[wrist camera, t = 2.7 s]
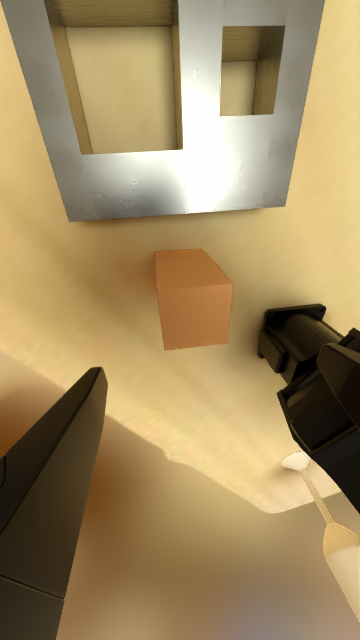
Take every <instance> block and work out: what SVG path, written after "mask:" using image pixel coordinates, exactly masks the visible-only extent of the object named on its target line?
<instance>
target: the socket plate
mask: <svg viewBox="0 0 360 640" xmlns="http://www.w3.org/2000/svg"><path fill="white" fill-rule="evenodd" d="M0 1H1V4H2V7H3V11H4V14H5V17H6V20H7V23H8V27H9V30H10V33H11V36H12V39H13V43H14V46H15V49H16V52H17V55H18V59H19V62H20V65H21V68H22V72H23V75H24V78H25V81H26V84H27V88H28V91H29V94H30V97H31V100H32V104H33V107H34V110H35V113H36V116H37V120H38V123H39V126H40V129H41V132H42V136H43V139H44V142H45V145H46V148H47V152H48V155H49V158H50V161H51V164H52V168H53V171H54V174H55V177H56V180H57V184H58V187H59V190H60V193H61V197H62V200H63V203H64V206H65V209H66V213H67V216H68V219H69V222H76V221H90V220H104V219H117V218H131V217H145V216H159V215H173V214H187V213H200V212H214V211H228V210H242V209H256V208H269V207H283V206H285V204H286V199H287V194H288V189H289V184H290V178H291V173H292V168H293V163H294V158H295V153H296V147H297V142H298V137H299V132H300V127H301V122H302V116H303V111H304V106H305V101H306V96H307V90H308V85H309V80H310V75H311V70H312V65H313V59H314V54H315V49H316V44H317V39H318V33H319V28H320V23H321V18H322V13H323V8H324V2H325V0H0ZM80 26H172V43H173V64H174V86H175V107H176V128H177V149H178V150H168V151H149V152H129V153H110V154H93V153H92V148H91V144H90V139H89V134H88V130H87V125H86V121H85V116H84V112H83V107H82V103H81V98H80V94H79V89H78V85H77V80H76V76H75V71H74V67H73V62H72V57H71V53H70V48H69V44H68V39H67V35H66V30H65V27H80ZM248 60H258V63H257V73H256V83H255V93H254V104H253V114H252V115H244V116H220V117H219V115H220V87H221V61H248Z"/></svg>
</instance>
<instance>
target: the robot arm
mask: <svg viewBox="0 0 360 640" xmlns="http://www.w3.org/2000/svg"><path fill="white" fill-rule="evenodd" d="M325 311H326V307H325V306H324V305H322V304H319V305H309V306H300V307H291V308H281V309H272V310H268V311H267V312H266V313H265V318H264V323H263V328H262V330H261V333H260V338H259V343H258V353H257V355H258V356H259V358H265V359H266V360H267V362H268V363H269V365H270V366H271V368H272V369H273V371H274V372H275V373H276V374H278V373H280V374H281V376H282V377H283V379H284V380H285V382H286V383H287V384H288V385H287V386H286V387H285V388H284V389H283V390H280V391H279V392H278V393H277V396H278V399H279V401H280V404H281V407H282V410H283V413H284V415H285V418H286V421H287V424H288V426H289V429H290V432H291V434H292V437H293V439H294V440H295V441H296V442H297V443H298V445H299V446H300V447H301V448H302V449H303V451H304V452H305V453H306V454H307V455H308V456H309V457H310V458H311V459H312V460H314V461H315V462H316V463H317V464H318V465H319V466H320V467H321V468H322V469H324V471H325V472H326V473H327V474H328V475H329V476H330V477H331V478H332V479H333V481H334V482H335V483H336V484H337V485H338V487H339V488H340V489H341V490H342V492H343V493H344V494H345V495H346V497H347V498H348V499H349V501H350V502H351V503H352V505H353V506H354V507H355V509H356V510H357V511H358V512H359V514H360V331H358V330H357V329H355V328H352V329H351V330H350V331H349V332H348V333H349V334H347V335H346V336H345V337H344V336H342V335H341V334H340V333H338V332H337V331H336V330H335V329H333V328H332V327H331V326H329V325H328V324H327V323H325V322H324V321H323V320H322V319H323V316H324V314H325ZM270 314H272V315H270ZM269 315H270V316H269ZM107 388H108V383H107V379H106V376H105V373H104V370H103V368H102V367H92V368H90V369H89V370H88V371H87V372H86V373H85V374H84V375H83V376H82V377H81V378H80V379H79V380H78V381H77V382H76V383H75V384H74V385H73V386H72V387H71V388H70V389H69V390H68V391H67V392H66V393H65V394H64V395H63V396H62V397H61V398H60V399H59V400H58V401H57V402H56V403H55V404H54V405H53V406H52V407H51V408H50V409H49V410H48V411H47V412H46V413H45V414H44V415H43V416H42V417H41V418H40V419H39V420H38V421H37V422H36V423H35V424H34V425H33V426H32V427H31V428H30V429H29V430H28V431H27V432H26V433H25V434H24V435H23V436H22V437H21V438H20V439H19V440H18V441H17V442H16V443H15V444H14V445H13V446H12V447H11V448H10V449H9V450H8V451H7V452H6V455H3V456H2V457H1V458H0V640H56V636H57V632H58V627H59V622H60V618H61V614H62V609H63V605H64V598H65V595H66V591H67V586H68V582H69V577H70V573H71V568H72V564H73V559H74V555H75V550H76V546H77V541H78V537H79V533H80V528H81V524H82V519H83V515H84V510H85V505H86V501H87V497H88V492H89V488H90V483H91V479H92V475H93V470H94V466H95V460H96V457H97V452H98V448H99V443H100V439H101V434H102V429H103V423H104V416H105V407H106V397H107Z"/></svg>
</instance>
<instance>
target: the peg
mask: <svg viewBox="0 0 360 640" xmlns="http://www.w3.org/2000/svg"><path fill="white" fill-rule="evenodd" d="M155 261H156V281H157V295H158V303H159V311H160V319H161V327H162V335H163V343H164V351H165V350H173V349H182V348H190V347H199V346H207V345H216V344H224V343H228V334H229V323H230V312H231V300H232V289H233V283H232V282H231V281H230V280H229V278H228V277H227V276H226V275H225V274H224V273H223V272H222V270H221V269H220V268H219V267H218V266H217V265H216V264H215V263H214V261H213V260H212V259H211V258H210V257H209V256H208V255H207V253H206V252H205V251H204V250H203V249H202V248H199V249H188V250H176V251H164V252H155Z"/></svg>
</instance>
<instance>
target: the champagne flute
mask: <svg viewBox="0 0 360 640" xmlns="http://www.w3.org/2000/svg"><path fill="white" fill-rule="evenodd" d="M310 460H311V458H310V457H309V456H308V455H307V454H306V453H305V452H304V451H301V452H296V453H293V454H291V455H289V456H287V457H285V458H284V459H283V460H282V461H281V465H282V466H283V467H286V468H290V469H293V470H297V471H300V473H301V475H302V477H303V479H304V481H305V483H306V485H307V486H308V488H309V490H310V492H311V494H312V496H313V498H314V500H315V502H316V503H317V505H318V507H319V509H320V511H321V513H322V515H323V517H324V519H325V521H326V522H327V524H328V525H327V527H326V529H325V535H324V541H323V550H324V556H325V559H326V561H327V563H328V565H329V567H330V569H331V570H332V572H333V574H334V576H335V578H336V580H337V582H338V583H339V585H340V587H341V589H342V591H343V593H344V594H345V596H346V598H347V600H348V602H349V604H350V606H351V608H352V609H353V611H354V613H355V615H356V616H357V619H358V620H359V622H360V537H359V536H357V535H356V534H355V533H353V532H352V531H350V530H348V529H346V528H345V527H343V526H342V525H340V524H337V523H334V521H333V519H332V517H331V515H330V513H329V512H328V510H327V508H326V506H325V504H324V502H323V501H322V499H321V497H320V495H319V493H318V492H317V490H316V488H315V486H314V484H313V483H312V481H311V479H310V477H309V475H308V473H307V472H306V470H305V469H306V467H307V465H308V463H309V461H310Z"/></svg>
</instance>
